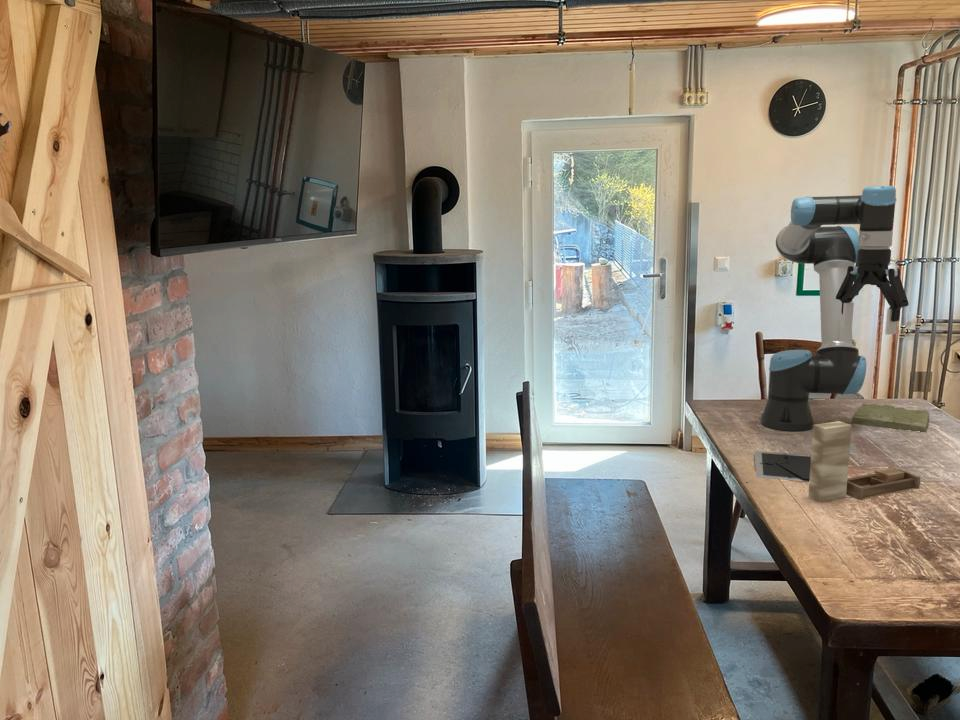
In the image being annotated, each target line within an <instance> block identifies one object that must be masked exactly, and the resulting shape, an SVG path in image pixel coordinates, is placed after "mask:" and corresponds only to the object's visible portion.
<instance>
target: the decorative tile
mask: <svg viewBox="0 0 960 720" xmlns="http://www.w3.org/2000/svg"><path fill="white" fill-rule="evenodd" d="M929 422H930V412H929V411H928V410H927V411H926V410H917V409H916V410H915V409H907V408H905V407H895V406H894V405H889V404H876V403H862V404H861V405H860V406H859V407H858V408H857V410H856V411H855V412H854V414H853V415H852V417H851V424H853V425H861V426H867V427H868V426H869V427H874V428H876V427H877V428H884V429H890V428H892V429H891V430H898V429H901V430H900V431H906V430H911V431H910V432H913V431H920V432H919V433H921V432H926V433H927V431H928V427H929ZM926 430H927V431H926Z"/></svg>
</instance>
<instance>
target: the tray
mask: <svg viewBox="0 0 960 720" xmlns="http://www.w3.org/2000/svg"><path fill="white" fill-rule="evenodd" d="M888 468H893V469H896V470H899V471H902V472H904V480H898V481H893V482H888V483H885V482H884V481H881V480H879V479H876V478H875V473H870V474H865V475H860V476H855V477H849V478H847V491H846V496H847V495H848V496H850V497H852V498H855V499H856V500H859V501H862V500H868V499H872V498H876V497H877V498H878V497H881V496H882V497H883V496H888V495H893V494H897V493H903V492H907V491H913V490H916V489H920V488H921V487H920V485H921V476H920V475H916V474H914V473H911V472H909V471H907V470H906V471H905V470H903V469H900V468H897V467H894V466H891V465H889V466H888Z"/></svg>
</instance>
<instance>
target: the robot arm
mask: <svg viewBox="0 0 960 720" xmlns="http://www.w3.org/2000/svg"><path fill="white" fill-rule="evenodd" d="M896 192H897V188H896V187H895V186H893V185H877V186H876V185H875V186H865V187H863V189H862V193H861V194H860V195H840V196H839V195H837V196H836V195H833V196H829V195H828V196H804V197H797V198H794V199H793V201H792V204H791V207H790V208H791V209H790V222H789V224H787V225H786V226H784V227H783V228H781V230H780V231H779V232H778V234H777V235H776V238H775V247H776V250H777V252H778V253H779V255H781V256H782V257H783V258H784V259H786V260H788V261H790V262H793V263H796V264H805V265H807V264H809V265H810V264H813V270H814V272H815V273H817V274H818V276H819V279H818V280H819V282H818V283H819V305H820V306H819V307H820V335H821V336H820V338H821V340H820V341H821V346H820V347H819V348H817V349H816V355H815V354H813V353H812V351H811V350H808V349H787V350H782V351H779V352H776V353H774V354H772V355H771V357H770V361H769V367H768V370H769V374H768V375H769V377H768V393H767V394H768V395H767V401H766V403H765V406H764V410H763V412H762V413H761V415H760V424H761V425H763V427H767V428H770V429H773V430H778V431H788V432H803V431H808V430H811V429H813V425H814V417H813V416H812V410H811V406H810V403H809V399H810V397H809V396H810V394H828V395H829V394H834V395H842V396H843V395H848V394H849V395H854V394H857V393H859V392H860V390H861V389H862V388H863V385H864V382H865V378H866V374H867V373H866V372H867V360H866V357H865V356H862V355H859V354H860V353H859V348H858V347H857V346H855V345H854V344H853V343H854V342H853V321H854V320H853V319H854V305H855V303H854V301H853V300H854V298H855V297H856V296H857V295H858V293H860V291H861V290H862V289H863V288H864V286H865V285H866V286H867V285H870V286H875V287H877V288H878V289H879V291H880V292H881V294H882V295H883V297H884V299H885V300H886V303H888V306H889V307H887V308H886V310H887V311H886V321H885V332H884V334H885V335H897V328H898V327H897V325H898V322H900V316H901V309H902V308H905V307H909V303H910V302H909V300H908V297H907V294H906V292H905V288H904V286H903V283H902V280H901V274H900V273H901V271H900V267H895V268H889V264H890V263H891V261H892V249H890V248H891V247H892V246H893V236H894V235H893V234H894V232H893V231H894V222H895V213H896V212H895V210H896V203H897V197H896V196H897V193H896ZM833 225H836V226H833ZM842 225H859V233H858V232H857V230H856V228H854V227H853V226H842ZM856 263H857V264H858V265H855V264H856Z"/></svg>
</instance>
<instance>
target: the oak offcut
mask: <svg viewBox="0 0 960 720" xmlns="http://www.w3.org/2000/svg"><path fill="white" fill-rule="evenodd" d="M874 474H875V478H876V479H879V480H881V481H884V482H885V483H888V482H893V481H898V480H904V472H902V471H899V470H896V469H893V468H883V469H877V470H875V473H874Z"/></svg>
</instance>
